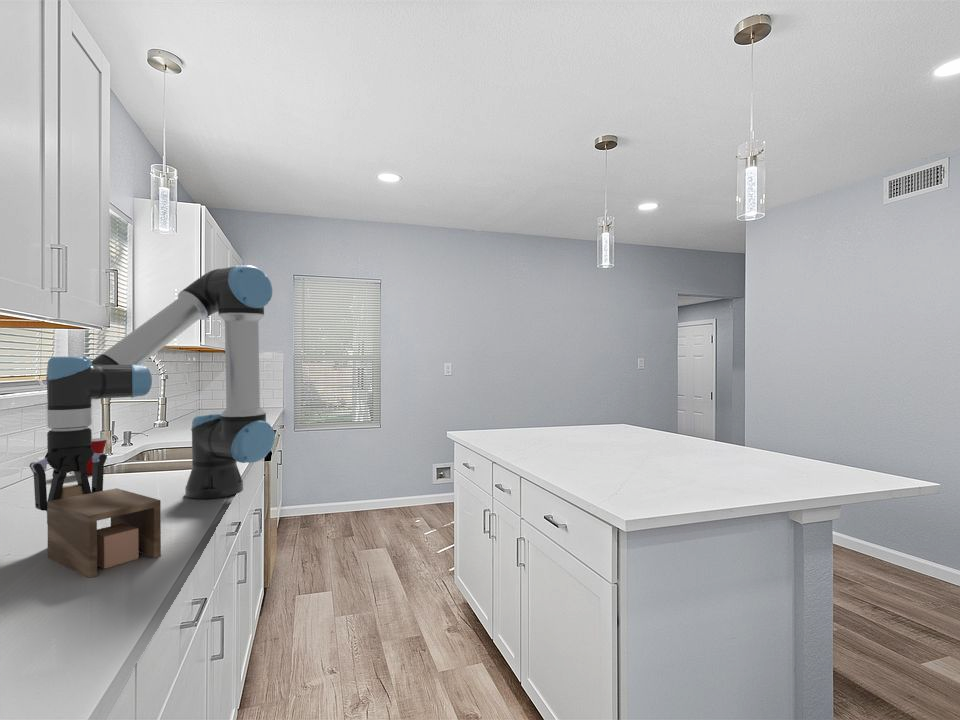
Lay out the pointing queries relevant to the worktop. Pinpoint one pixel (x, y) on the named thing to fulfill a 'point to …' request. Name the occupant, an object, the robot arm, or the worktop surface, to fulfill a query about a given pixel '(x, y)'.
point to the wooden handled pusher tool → (110, 538)
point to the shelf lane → (78, 526)
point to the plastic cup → (96, 451)
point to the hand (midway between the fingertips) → (70, 537)
